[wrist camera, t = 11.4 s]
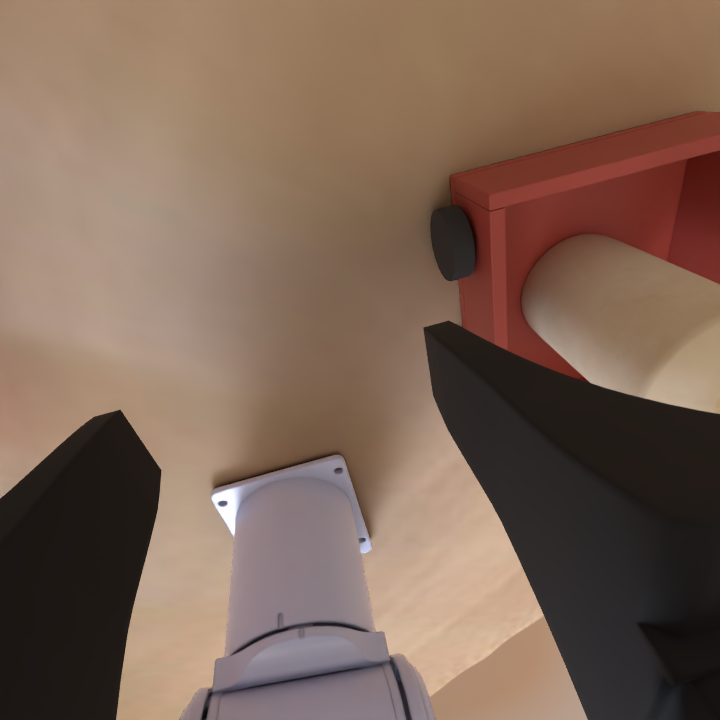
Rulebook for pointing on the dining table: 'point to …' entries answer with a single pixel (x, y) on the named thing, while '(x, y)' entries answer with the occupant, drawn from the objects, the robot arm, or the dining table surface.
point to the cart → (588, 216)
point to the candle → (628, 320)
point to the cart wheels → (452, 243)
